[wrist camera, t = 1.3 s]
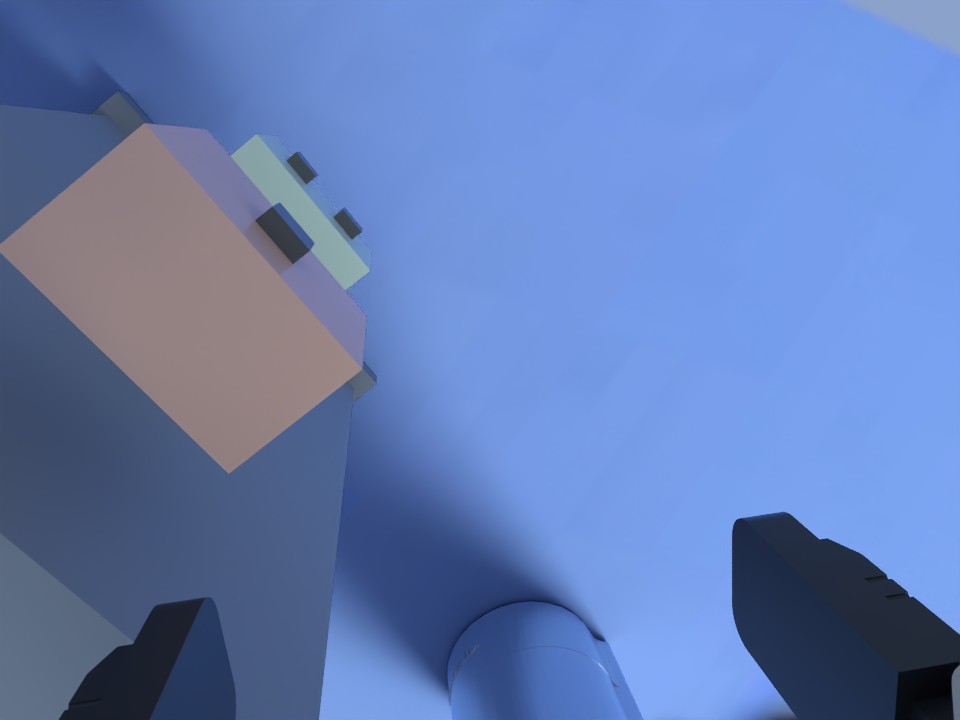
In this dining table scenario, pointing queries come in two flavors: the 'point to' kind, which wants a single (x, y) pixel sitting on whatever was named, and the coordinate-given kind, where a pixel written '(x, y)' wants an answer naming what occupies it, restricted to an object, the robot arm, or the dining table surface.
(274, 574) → the large grey rectangular box
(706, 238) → the dining table surface
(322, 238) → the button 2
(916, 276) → the dining table surface
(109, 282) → the pink rectangular block
